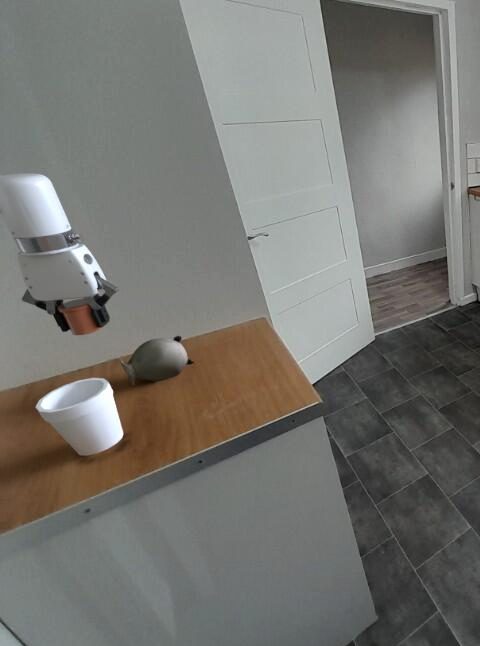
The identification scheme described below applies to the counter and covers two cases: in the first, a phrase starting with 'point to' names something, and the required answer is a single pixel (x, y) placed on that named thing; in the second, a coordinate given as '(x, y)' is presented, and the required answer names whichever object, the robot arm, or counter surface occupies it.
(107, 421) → the foam cup
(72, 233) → the robot arm
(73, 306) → the pot
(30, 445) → the counter surface
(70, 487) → the counter surface
